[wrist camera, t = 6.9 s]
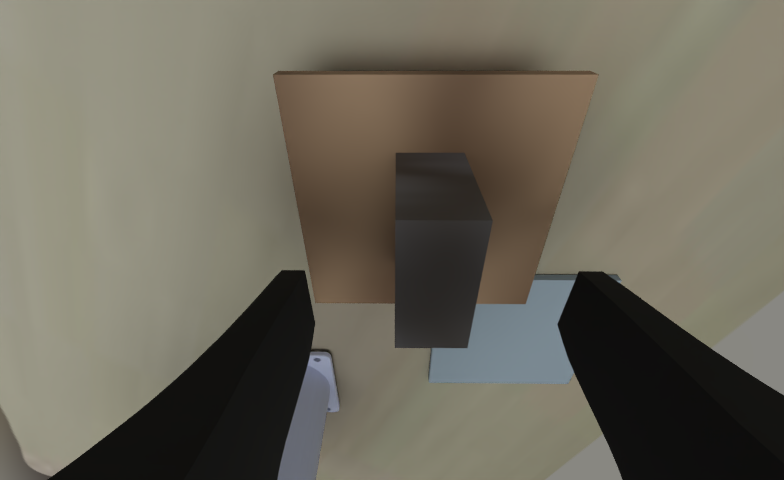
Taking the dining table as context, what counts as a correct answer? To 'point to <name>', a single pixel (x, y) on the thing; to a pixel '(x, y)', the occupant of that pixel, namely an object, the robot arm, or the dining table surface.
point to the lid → (429, 186)
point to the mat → (513, 340)
